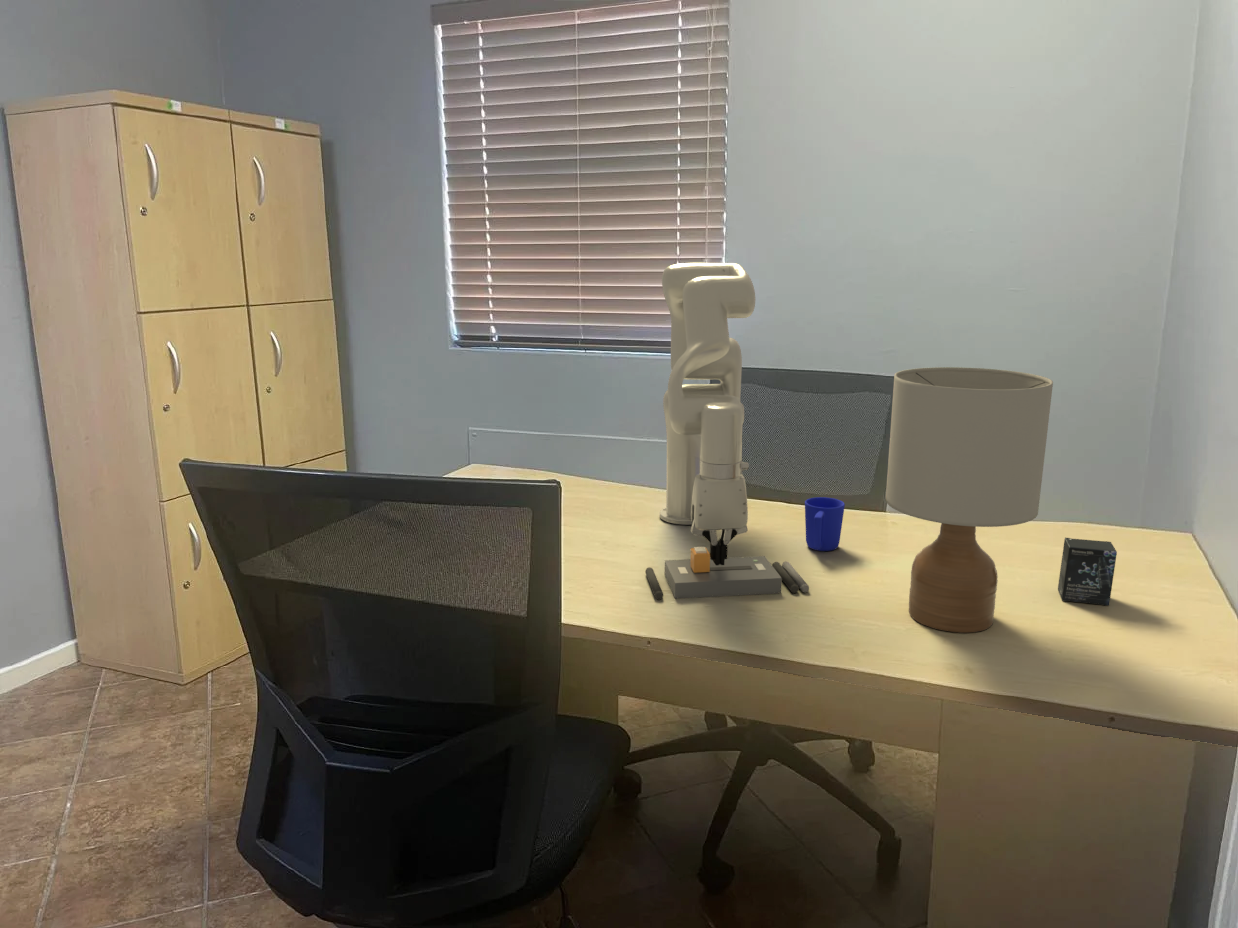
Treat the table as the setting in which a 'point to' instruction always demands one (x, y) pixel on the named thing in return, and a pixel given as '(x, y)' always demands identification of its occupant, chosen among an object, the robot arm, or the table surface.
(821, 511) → the mug
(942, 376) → the lamp
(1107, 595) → the box
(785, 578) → the grey capsule
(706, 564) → the block
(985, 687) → the table surface
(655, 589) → the dark grey rounded rod
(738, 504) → the robot arm
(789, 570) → the light grey rod
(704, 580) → the slider switch box
